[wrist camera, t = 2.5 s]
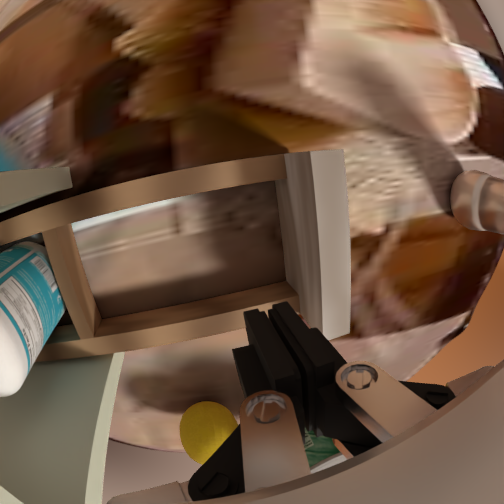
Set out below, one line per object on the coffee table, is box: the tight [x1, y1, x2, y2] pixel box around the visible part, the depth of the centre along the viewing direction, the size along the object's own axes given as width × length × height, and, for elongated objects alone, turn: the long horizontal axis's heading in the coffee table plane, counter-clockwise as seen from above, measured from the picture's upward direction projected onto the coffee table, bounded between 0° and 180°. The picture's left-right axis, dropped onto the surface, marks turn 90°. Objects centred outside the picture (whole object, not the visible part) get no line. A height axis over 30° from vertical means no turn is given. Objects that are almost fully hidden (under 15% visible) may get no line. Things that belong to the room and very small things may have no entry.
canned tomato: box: [304, 428, 347, 474], centre depth 24 cm, size 8×8×11 cm
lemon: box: [180, 401, 238, 465], centre depth 22 cm, size 6×6×8 cm
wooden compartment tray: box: [0, 149, 351, 362], centre depth 16 cm, size 32×12×7 cm, turn 98°
